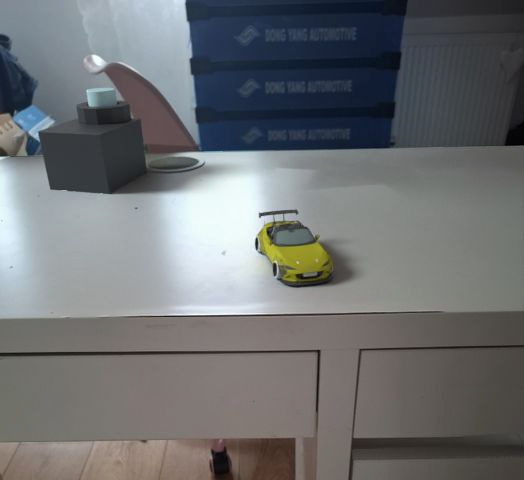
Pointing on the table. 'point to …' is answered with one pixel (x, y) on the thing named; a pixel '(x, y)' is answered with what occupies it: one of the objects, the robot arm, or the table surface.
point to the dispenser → (94, 150)
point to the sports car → (293, 251)
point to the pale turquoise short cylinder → (101, 97)
